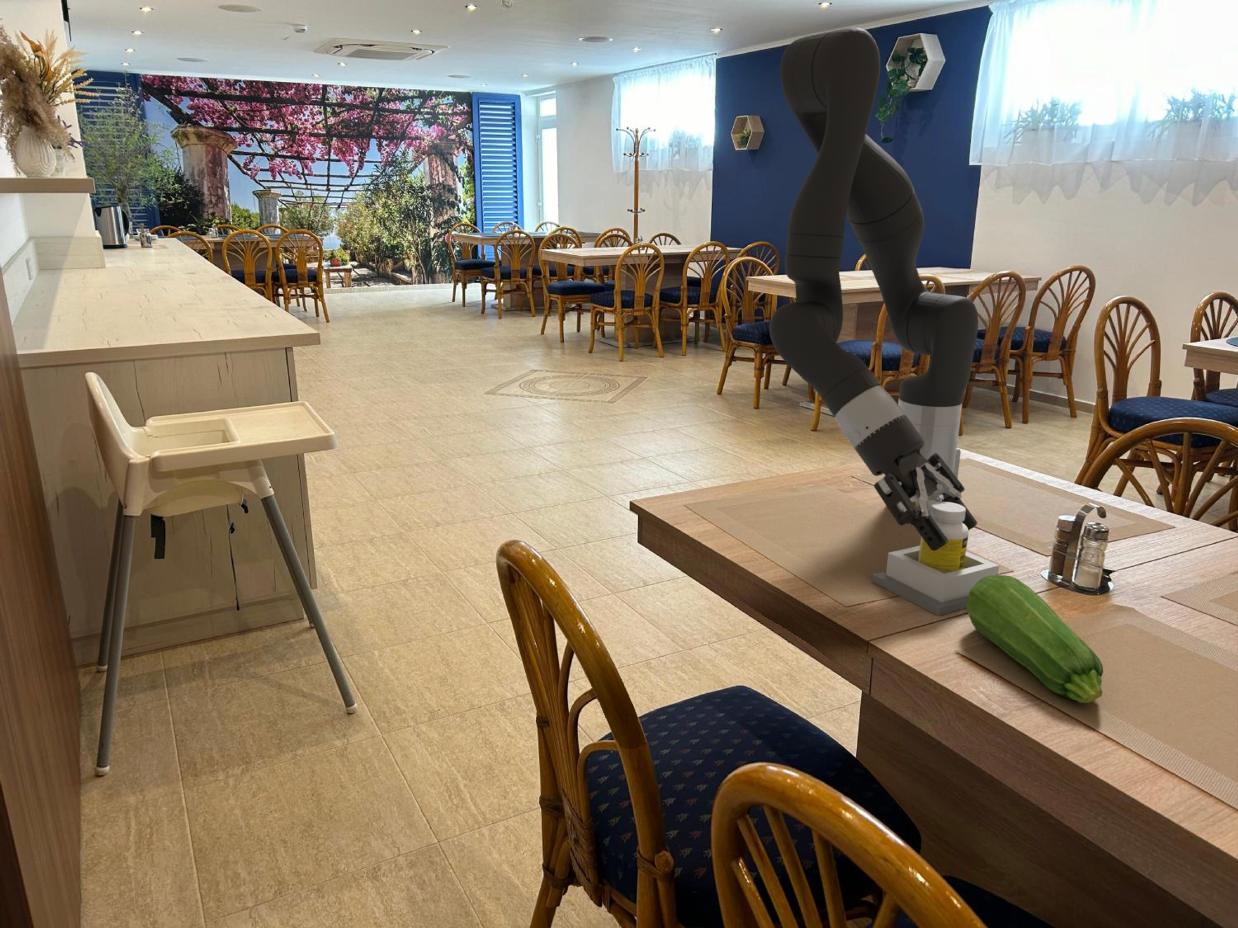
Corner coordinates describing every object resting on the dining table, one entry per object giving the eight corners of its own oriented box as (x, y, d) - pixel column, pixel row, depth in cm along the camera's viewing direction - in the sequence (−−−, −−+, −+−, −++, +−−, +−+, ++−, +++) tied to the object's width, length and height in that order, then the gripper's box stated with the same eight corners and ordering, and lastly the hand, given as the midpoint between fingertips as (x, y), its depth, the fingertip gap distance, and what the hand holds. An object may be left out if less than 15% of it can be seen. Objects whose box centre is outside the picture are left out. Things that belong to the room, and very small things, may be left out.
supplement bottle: (964, 591, 109) (975, 515, 107) (918, 587, 111) (927, 511, 108) (958, 574, 115) (968, 501, 112) (913, 569, 116) (922, 497, 113)
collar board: (940, 564, 120) (943, 536, 119) (1009, 596, 111) (1013, 565, 110) (872, 581, 115) (874, 552, 113) (938, 615, 105) (942, 584, 104)
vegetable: (1004, 553, 102) (1123, 638, 83) (1022, 603, 104) (1142, 696, 85) (946, 583, 102) (1052, 675, 83) (966, 632, 104) (1074, 732, 85)
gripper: (872, 423, 106) (955, 538, 102) (925, 404, 116) (1003, 508, 112) (829, 457, 111) (907, 568, 107) (884, 436, 121) (957, 537, 117)
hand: (956, 537), depth 110 cm, fingers open, 8 cm apart
